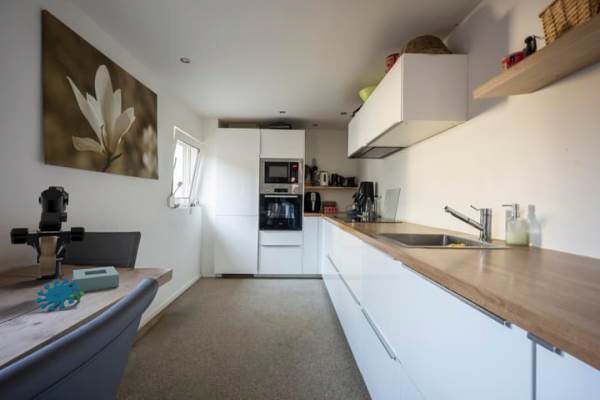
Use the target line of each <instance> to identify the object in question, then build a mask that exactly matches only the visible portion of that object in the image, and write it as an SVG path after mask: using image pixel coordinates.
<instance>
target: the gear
mask: <svg viewBox="0 0 600 400" xmlns="http://www.w3.org/2000/svg"><path fill="white" fill-rule="evenodd" d="M73 285H76V281H75V280H73V281H72V280H71V282H70V279H68V278H66V277H65V278H63V280H62V282H61V283H60V279H54V280H53V286H52V287H51V284H50V283H46V284H44V285H43V288H44V289H45V290H46V291H47V292H46V293H45V292H44V291H43V290H42V289H41V290H39V291H37V293H36V295H37V296H40V297H37V298H36V299H35V301H36V304H39V307H40V309H42V310H43V309H45V308H46V307H47V306H48V307H47V310H48V311H52V312H53V311H54V310H55V309H56V306H57V305H58V309H59V310H62V309H65V308H66V306H65V302H66V301H67V303H68V305H72V304H74V303H75V301H76V302H77V303H80V302H81V299H82V297H85V291H81V292H74V291H73V289H75V290H77V291H78V290H80V286H79V285H78V286H75V287H73ZM41 296H42V297H44V298H42V297H41ZM43 302H45V303H43Z"/></svg>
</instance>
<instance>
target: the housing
mask: <svg viewBox="0 0 600 400" xmlns="http://www.w3.org/2000/svg"><path fill="white" fill-rule="evenodd" d="M73 280H75V281H76V285H72V287H75V286H78V285H79V286H80V290H78V291H77V290H75V289H73V290H72V292H79V293H80V292H81V291H83V292H89V291H95V290H102V289H104V290H105V289H109V288H116V287H119V285H120V273H119V272H118V271H117V270H116V268H115V267H114V265H113V266H104V267H92V268H83V269H74V270H72V279H71V282H72V281H73Z"/></svg>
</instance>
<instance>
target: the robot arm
mask: <svg viewBox="0 0 600 400" xmlns="http://www.w3.org/2000/svg"><path fill="white" fill-rule="evenodd" d="M69 197H70V195H69V193H68V192H67V191H65V187H63V186H56V185H51V186H48V188H47V189H45V190H43V191H41V193H40V195H39V196H38V204H39V206H40V207H41V213H40V221H39V223H38V230H37V229H29V227H13V228H12V229H10V232H9V236H10V243H11V245H25V244H26V245H27V246H30V247H32V248H33V249H34V251H35V253H36V264H39V263H40V246H41V242H40V239H41V237H43V236H57V249H56V266H55V274H52V275H46V276H40V275H38V276H37V277H36V280H39V279H40V280H43V279H58V278H59V277H61V276H62V277H63V276H64V275H65V274H64V273H63V272H61V262H62V263H64V262H67V261H68V249H67V248H66V245H68V244H69V245H70V244H71V242H72V243H74V242H75V243H80V242H83V241H84V239H85V231H86V230H85V227H83V226H71V227H70V230H69V231H68V230H66V231H65V230H62V228H63V227H62V226H63V223H67V222H68V211H67V212H65V211H66V210H67V206H69V201H70V199H69Z"/></svg>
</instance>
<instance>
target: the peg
mask: <svg viewBox="0 0 600 400" xmlns="http://www.w3.org/2000/svg"><path fill="white" fill-rule="evenodd" d="M40 244H41V246H40V263H39V265H38V266H39V267H38V276H46V275H52V274H55V266H56V249H57V236H43V237H41V238H40Z"/></svg>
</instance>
